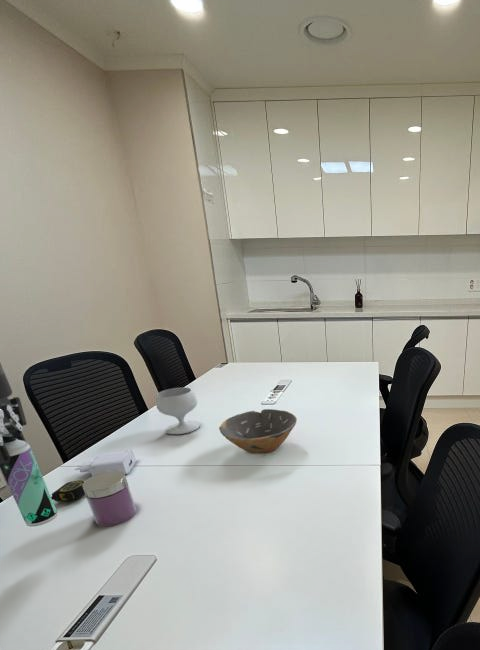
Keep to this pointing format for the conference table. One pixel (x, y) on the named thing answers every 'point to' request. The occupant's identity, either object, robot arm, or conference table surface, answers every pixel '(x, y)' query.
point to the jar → (113, 507)
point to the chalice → (177, 408)
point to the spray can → (27, 483)
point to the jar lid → (104, 484)
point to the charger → (110, 463)
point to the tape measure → (69, 491)
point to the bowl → (258, 430)
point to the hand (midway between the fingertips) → (13, 455)
